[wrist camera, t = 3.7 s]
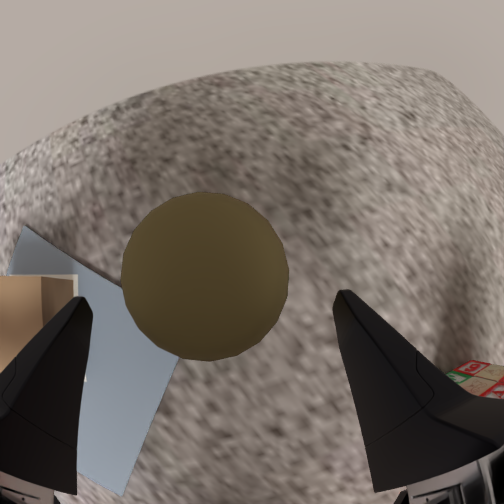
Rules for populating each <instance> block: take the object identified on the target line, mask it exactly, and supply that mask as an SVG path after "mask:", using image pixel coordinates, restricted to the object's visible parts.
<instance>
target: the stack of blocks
mask: <svg viewBox="0 0 504 504" xmlns="http://www.w3.org/2000/svg"><path fill="white" fill-rule="evenodd" d="M446 375H447V376H448V377H450V378H451V379H452V380H453V381H455V382H456V383H457V384H458V385H460V386H461V387H462V388H463V389H465V390H466V391H468V392H469V393H471V394H474V395H477V396H482V397H490V398H498V399H504V366H500V365H494V364H490V363H485V362H479V361H475V360H471V361H469V362H467V363H465V364H463V365H461V366H460V367H458V368H456V369H454V370H453V371H451V372H449V373H447V374H446Z"/></svg>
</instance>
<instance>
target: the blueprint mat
mask: <svg viewBox="0 0 504 504" xmlns="http://www.w3.org/2000/svg"><path fill="white" fill-rule="evenodd" d="M6 276H43V277H51V278H59V279H68V280H73V291H74V297H75V296H83V297H85V298H86V300H87V302H88V304H89V305H90V307H91V309H92V312H93V323H92V331H91V340H90V350H89V356H88V362H87V368H86V373H85V379H84V386H83V393H82V400H81V409H80V418H79V429H78V444H77V471H78V472H79V473H81V474H82V475H84V476H86V477H87V478H89V479H91V480H92V481H94V482H96V483H97V484H99V485H101V486H103V487H105V488H106V489H108V490H110V491H112V492H114V493H116V494H118V495H120V496H122V495H123V493H124V490H125V488H126V485H127V483H128V480H129V478H130V475H131V472H132V470H133V467H134V465H135V462H136V460H137V457H138V455H139V452H140V450H141V447H142V445H143V442H144V440H145V438H146V435H147V433H148V430H149V428H150V425H151V423H152V421H153V418H154V416H155V413H156V411H157V409H158V406H159V404H160V401H161V399H162V397H163V394H164V392H165V390H166V387H167V385H168V383H169V380H170V378H171V376H172V373H173V371H174V369H175V366H176V364H177V362H178V359H179V357H178V356H176V355H174V354H171V353H169V352H167V351H165V350H163V349H161V348H159V347H157V346H156V345H155V344H154V343H153V342H152V341H151V340H150V339H149V338H147V337H146V336H145V335H144V334H143V333H142V332H141V331H140V330H139V329H138V327H137V325H136V324H135V322H134V320H133V318H132V317H131V315H130V313H129V311H128V309H127V307H126V305H125V300H124V295H123V290H122V288H121V287H119V286H118V285H116V284H114V283H112V282H111V281H109V280H107V279H106V278H104V277H102V276H101V275H99V274H97V273H96V272H94V271H92V270H91V269H89V268H87V267H86V266H84V265H83V264H81V263H79V262H78V261H76V260H75V259H73V258H72V257H70V256H69V255H67V254H66V253H64V252H63V251H61V250H60V249H58V248H57V247H55V246H54V245H52V244H51V243H49V242H48V241H46V240H45V239H43V238H42V237H41V236H39V235H38V234H36V233H35V232H34V231H32V230H31V229H29V228H28V227H27V226H25V225H24V227H23V229H22V232H21V234H20V237H19V239H18V242H17V245H16V247H15V250H14V253H13V256H12V259H11V262H10V265H9V268H8V271H7V275H6Z"/></svg>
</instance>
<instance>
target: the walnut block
mask: <svg viewBox="0 0 504 504" xmlns="http://www.w3.org/2000/svg"><path fill="white" fill-rule="evenodd" d="M73 297H74V291H73V280H68V279H59V278H51V277H43V276H0V373H1V372H2V371H3V370H4V368H5V367H6V366H7V365H8V364H9V363H10V362H11V361H12V360H13V358H14V357H16V355H17V354H18V353H19V352H20V351H21V350H22V349H23V347H24V346H25V345H26V344H27V343H28V342H29V341H30V340H31V339H32V338H33V337H34V336H35V335H36V334H37V333H38V332H39V331H40V330H41V329H42V328H43V326H44V325H45V324H46V323H47V322H48V321H49V320H50V319H51V318H52V317H53V316H54V315H55V314H57V313H58V312H59V311H60V310H61V309H62V308H63V307H64V306H65V305H66V304H67V303H68V302H69V301H70V300H71V299H72V298H73Z"/></svg>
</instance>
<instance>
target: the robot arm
mask: <svg viewBox="0 0 504 504" xmlns="http://www.w3.org/2000/svg"><path fill="white" fill-rule="evenodd" d="M333 316H334V321H335V326H336V332H337V338H338V343H339V349H340V352H341V356H342V359H343V363H344V366H345V370H346V374H347V377H348V381H349V384H350V388H351V392H352V396H353V400H354V403H355V407H356V411H357V415H358V419H359V423H360V427H361V432H362V436H363V440H364V445H365V450H366V454H367V459H368V463H369V468H370V473H371V478H372V483H373V488H374V492H375V493H377V492H382V491H386V490H391V489H395V488H399V487H403V486H406V488H407V489H406V490H404V491H401V492H400V494H399V496H398V497H397V499H396V501H395V502H394V504H504V399H498V398H490V397H482V396H477V395H474V394H471V393H469V392H468V391H466V390H465V389H463V388H462V387H461V386H460V385H458V384H457V383H456V382H455V381H453V380H452V379H451V378H450V377H448V376H447V375H446V374H444V373H443V372H442V371H441V370H440V369H438V368H437V367H436V366H435V365H433V364H432V363H431V362H430V361H429V360H428V359H427V358H426V357H425V356H423V355H422V354H421V353H420V352H419V351H418V350H417V349H416V348H415V347H414V346H413V345H412V344H410V343H409V342H408V341H407V340H406V339H405V338H404V337H403V336H402V335H401V334H400V333H398V332H397V331H396V330H395V329H394V328H393V327H392V326H391V325H390V324H389V323H387V322H386V321H385V320H384V319H383V318H382V317H381V316H380V315H378V314H377V313H376V312H375V311H374V310H373V309H372V308H371V307H369V306H368V305H367V304H366V303H365V302H364V301H363V300H362V299H360V298H359V297H358V296H357V295H356V294H355V293H354V292H352V291H351V290H349V289H345V290H339V291H338V292H337V295H336V298H335V301H334V304H333ZM92 323H93V312H92V309H91V307H90V305H89V304H88V302H87V300H86V298H85V297H83V296H75V297H73V298H72V299H71V300H70V301H69V302H68V303H67V304H66V305H65V306H64V307H63V308H62V309H61V310H60V311H59V312H58V313H57V314H55V315H54V316H53V317H52V318H51V319H50V320H49V321H48V322H47V323H46V324H45V325H44V326H43V328H42V329H41V330H40V331H39V332H38V333H37V334H36V335H35V336H34V337H33V338H32V339H31V340H30V341H29V342H28V343H27V344H26V345H25V346H24V347H23V349H22V350H21V351H20V352H19V353H18V354H17V355H16V357H14V358H13V360H12V361H11V362H10V363H9V364H8V365H7V366H6V367H5V368H4V370H3V371H2V372H1V373H0V504H60V502H59V501H58V499H57V498H56V496H54V490H56V491H59V492H63V493H68V494H72V495H77V444H78V429H79V418H80V409H81V400H82V393H83V386H84V379H85V373H86V368H87V362H88V356H89V350H90V340H91V331H92Z"/></svg>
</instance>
